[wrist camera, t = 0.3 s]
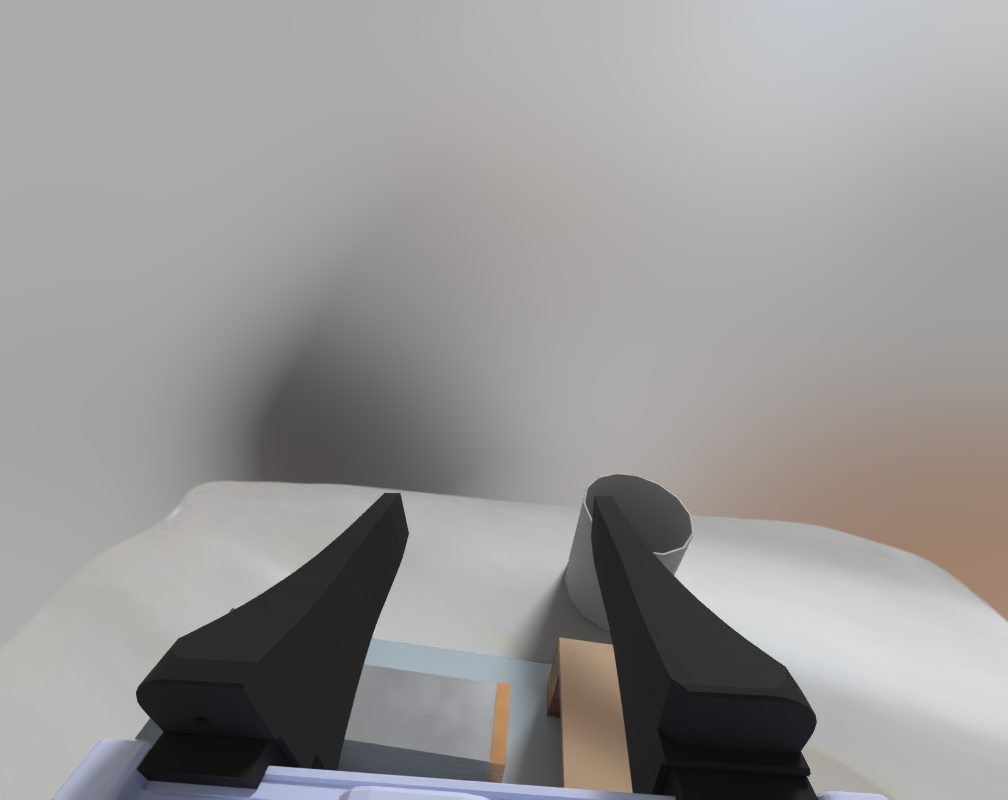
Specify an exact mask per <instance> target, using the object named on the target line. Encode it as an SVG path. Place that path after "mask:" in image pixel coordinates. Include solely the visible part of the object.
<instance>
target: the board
mask: <svg viewBox="0 0 1008 800" xmlns="http://www.w3.org/2000/svg"><path fill="white" fill-rule="evenodd" d="M364 664H366V665H373V666H380V667H387V668H394V669H400V670H407V671H414V672H421V673H428V674H435V675H441V676H448V677H455V678H462V679H469V680H476V681H483V682H489V683H496V684H497V683H498V682H499V683H506V684H511V689H510V704H509V719H508V734H507V748H506V763H505V769H504V775H503V780H502V783H504V784H517V785H531V786H544V787H557V788H561V785H562V757H561V724H560V717H555V716H549V715H547V682H548V678H549V674H550V671H551V667H552V664H547V663H540V662H533V661H526V660H519V659H512V658H505V657H498V656H491V655H484V654H477V653H470V652H463V651H456V650H449V649H442V648H435V647H428V646H421V645H414V644H407V643H400V642H393V641H386V640H379V639H371V642H370V645H369V649H368V652H367V655H366V659H365V662H364ZM337 771H345V772H358V773H368V772H361V771H355V770H349V769H343V768H338V769H337ZM371 774H374V773H371Z"/></svg>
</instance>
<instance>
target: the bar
mask: <svg viewBox="0 0 1008 800" xmlns="http://www.w3.org/2000/svg"><path fill="white" fill-rule="evenodd" d="M510 689H511V684H506V683H499V682H498V683H497V684H496V683H489V682H483V681H476V680H469V679H462V678H455V677H448V676H441V675H435V674H428V673H421V672H414V671H407V670H400V669H394V668H387V667H380V666H373V665H366V664H364V666H363V669H362V673H361V677H360V680H359V684H358V687H357V691H356V695H355V699H354V703H353V707H352V711H351V714H350V718H349V722H348V726H347V730H346V735H345V739H344V743H343V748H342V752H341V756H340V761H339V765H338V768H343V769H349V770H355V771H361V772H368V773H374V774H385V775H398V776H411V777H424V778H438V779H451V780H464V781H477V782H491V783H502V780H503V775H504V769H505V763H506V748H507V734H508V719H509V704H510Z"/></svg>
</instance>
